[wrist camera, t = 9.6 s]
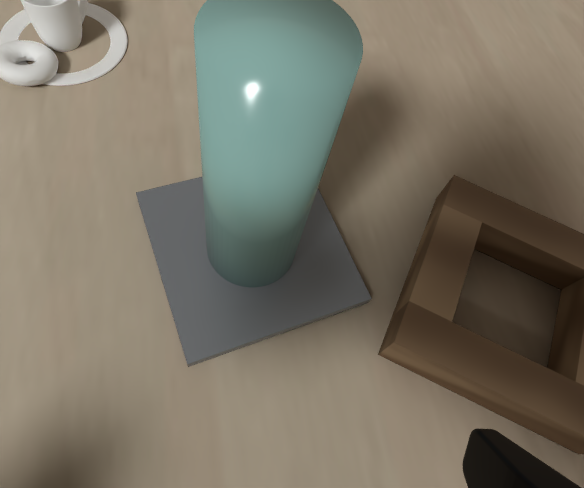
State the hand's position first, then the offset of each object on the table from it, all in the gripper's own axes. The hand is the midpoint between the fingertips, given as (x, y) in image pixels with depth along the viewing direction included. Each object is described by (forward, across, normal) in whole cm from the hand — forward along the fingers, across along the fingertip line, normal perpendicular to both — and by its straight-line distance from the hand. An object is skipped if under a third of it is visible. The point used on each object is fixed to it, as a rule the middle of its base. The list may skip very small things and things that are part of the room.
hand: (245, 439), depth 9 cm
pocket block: (+15, -14, +4) cm, 21 cm away
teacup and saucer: (+28, +16, -7) cm, 33 cm away
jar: (+17, 0, +2) cm, 17 cm away
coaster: (+17, 0, +2) cm, 17 cm away
